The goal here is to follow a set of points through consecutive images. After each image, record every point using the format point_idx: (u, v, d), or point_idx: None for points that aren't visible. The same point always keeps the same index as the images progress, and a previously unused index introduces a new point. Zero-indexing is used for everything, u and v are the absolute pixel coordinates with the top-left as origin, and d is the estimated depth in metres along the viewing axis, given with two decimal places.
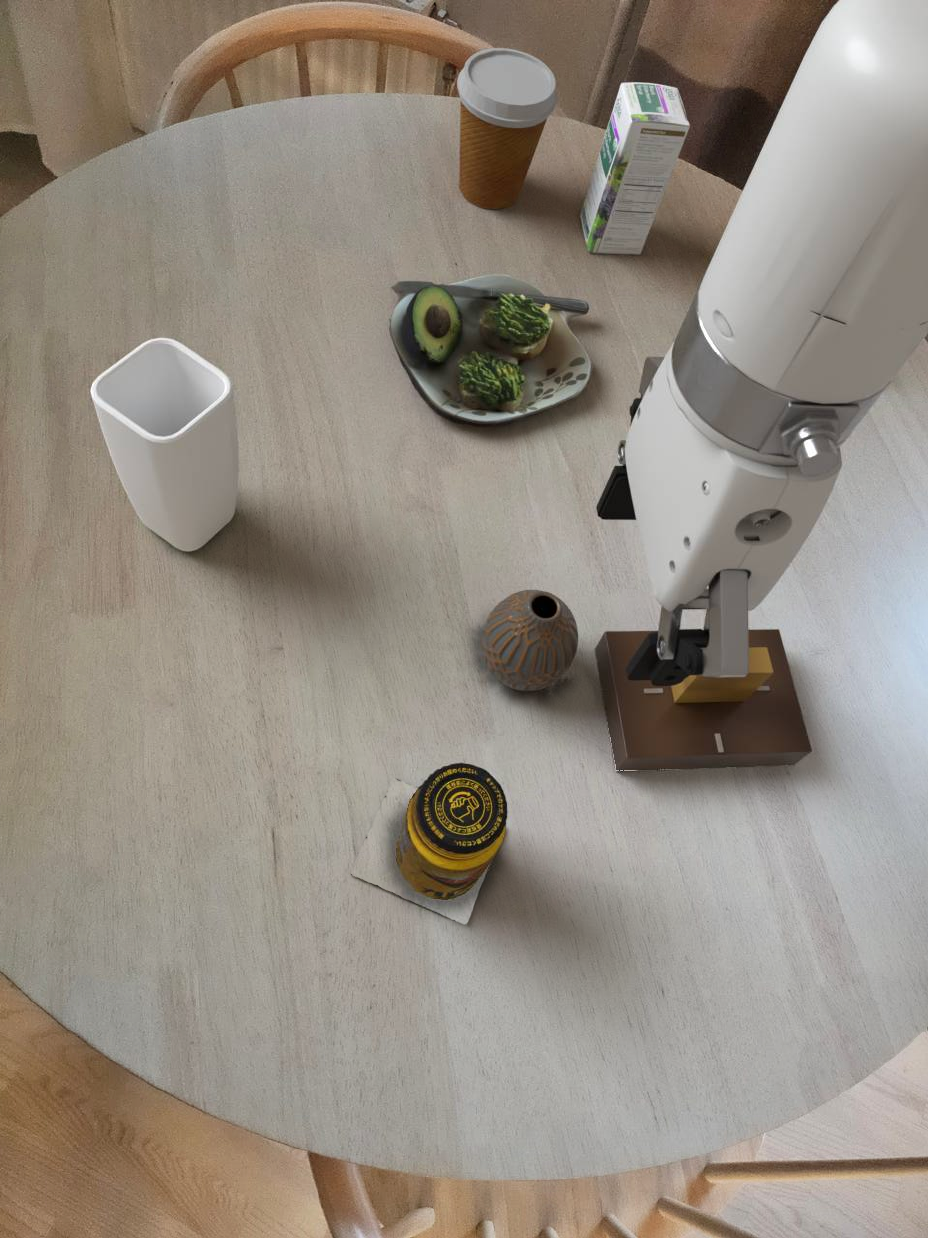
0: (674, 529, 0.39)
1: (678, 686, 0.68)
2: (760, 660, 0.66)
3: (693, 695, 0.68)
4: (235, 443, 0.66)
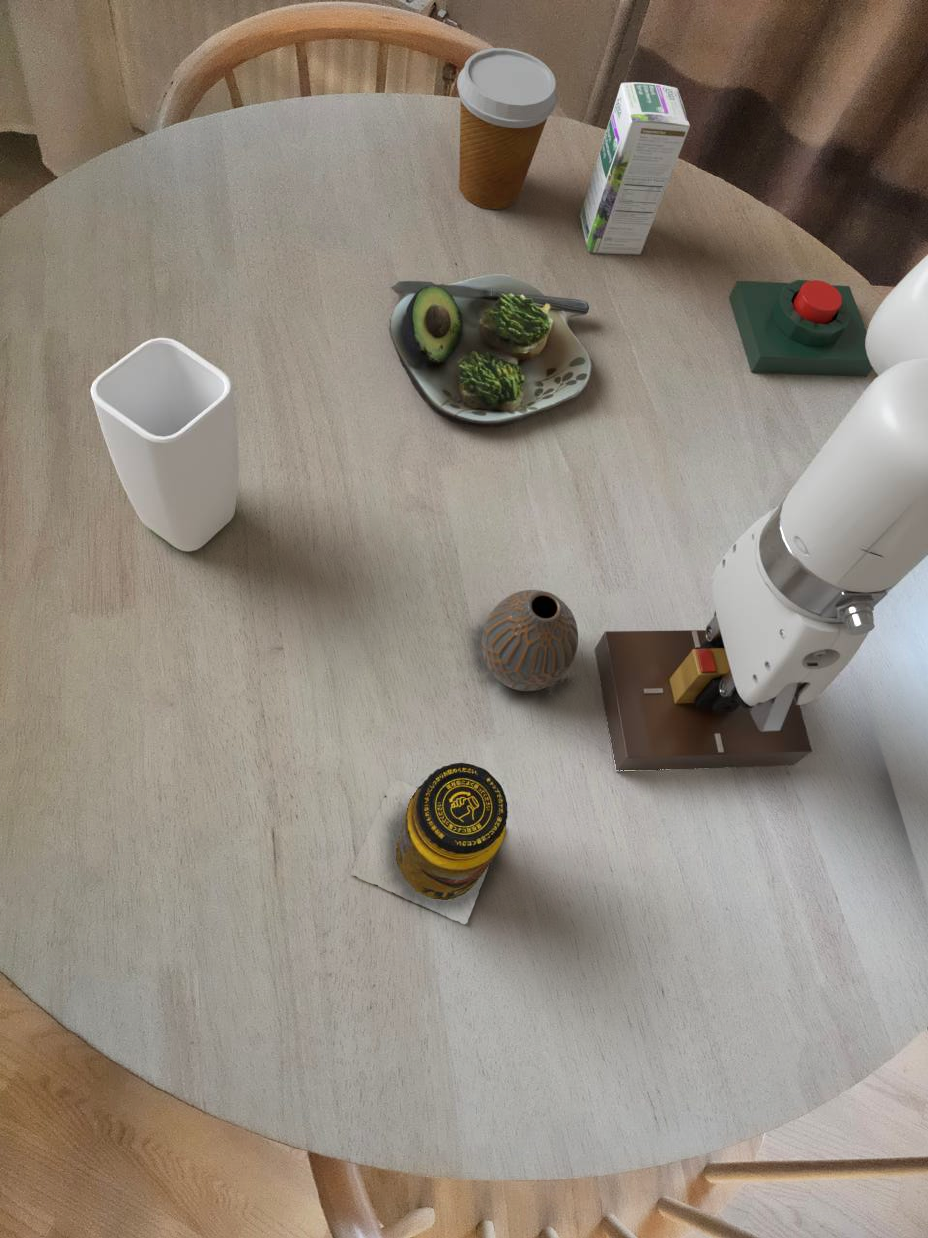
0: (757, 654, 0.57)
1: (678, 687, 0.68)
2: None
3: (693, 695, 0.68)
4: (235, 443, 0.66)
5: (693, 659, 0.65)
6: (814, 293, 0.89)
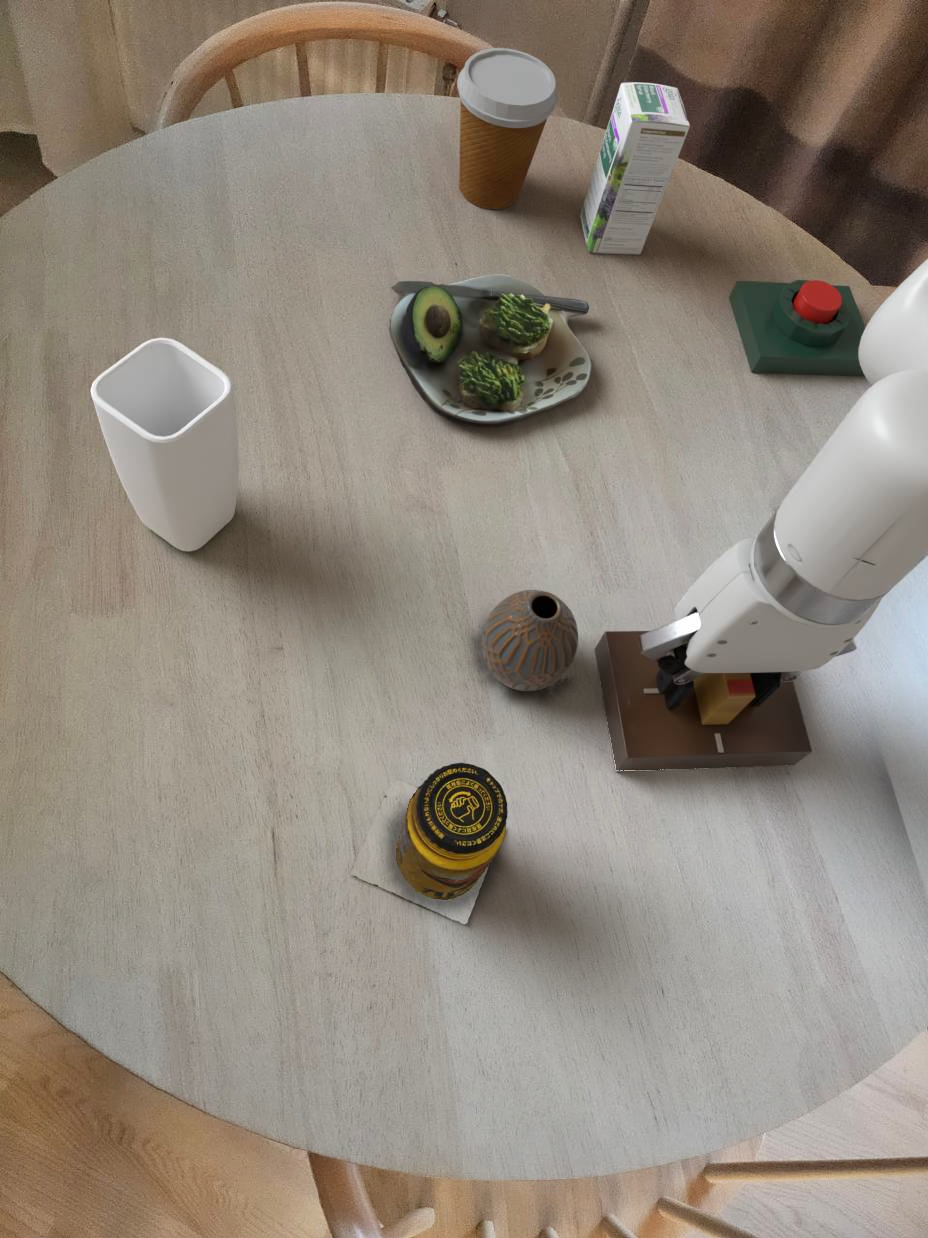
0: (829, 646, 0.59)
1: (725, 717, 0.67)
2: None
3: None
4: (235, 443, 0.66)
5: (736, 698, 0.64)
6: (814, 293, 0.89)
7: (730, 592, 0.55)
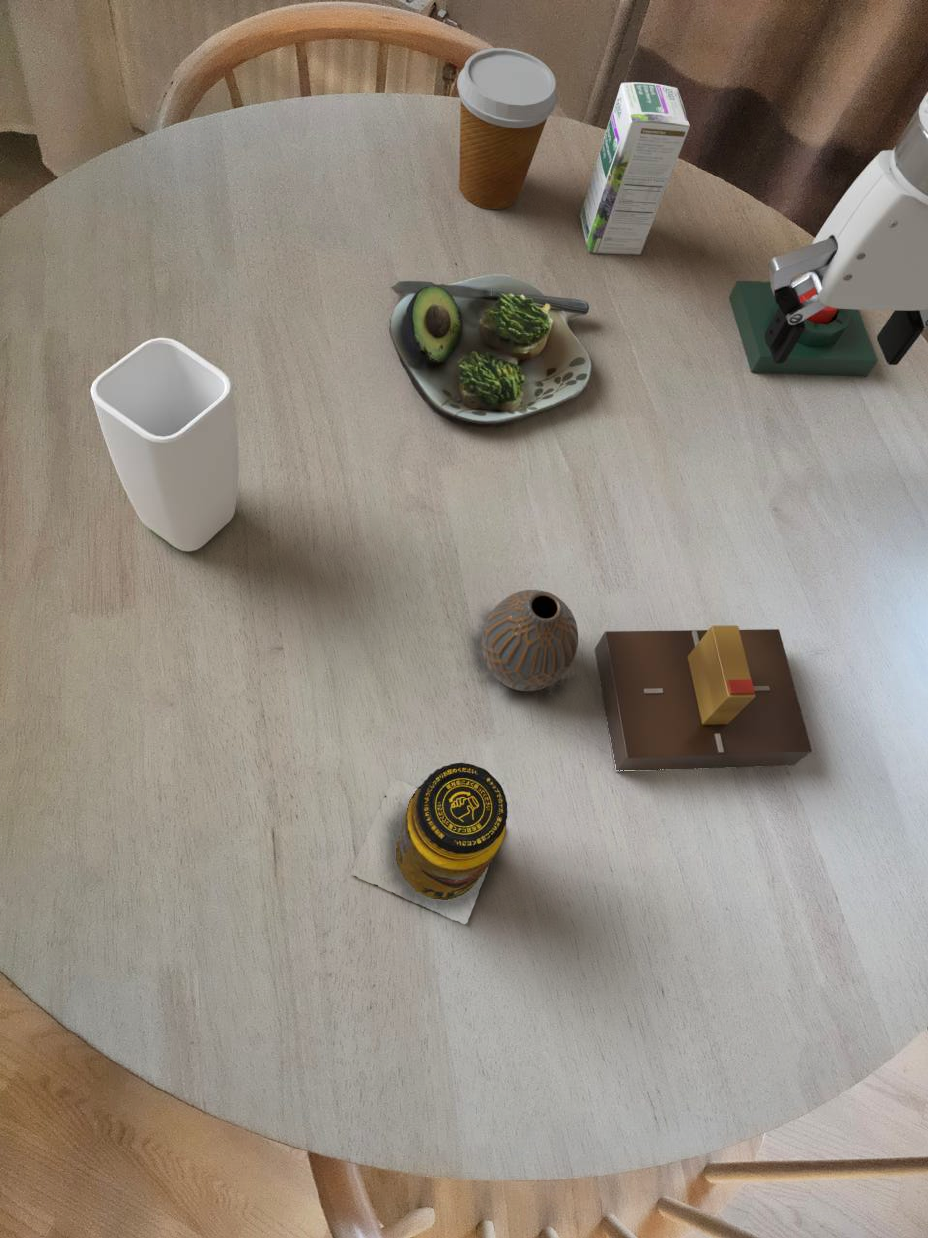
0: None
1: (725, 717, 0.67)
2: (727, 634, 0.66)
3: None
4: (235, 443, 0.66)
5: (736, 698, 0.64)
6: (814, 293, 0.89)
7: (873, 196, 0.61)
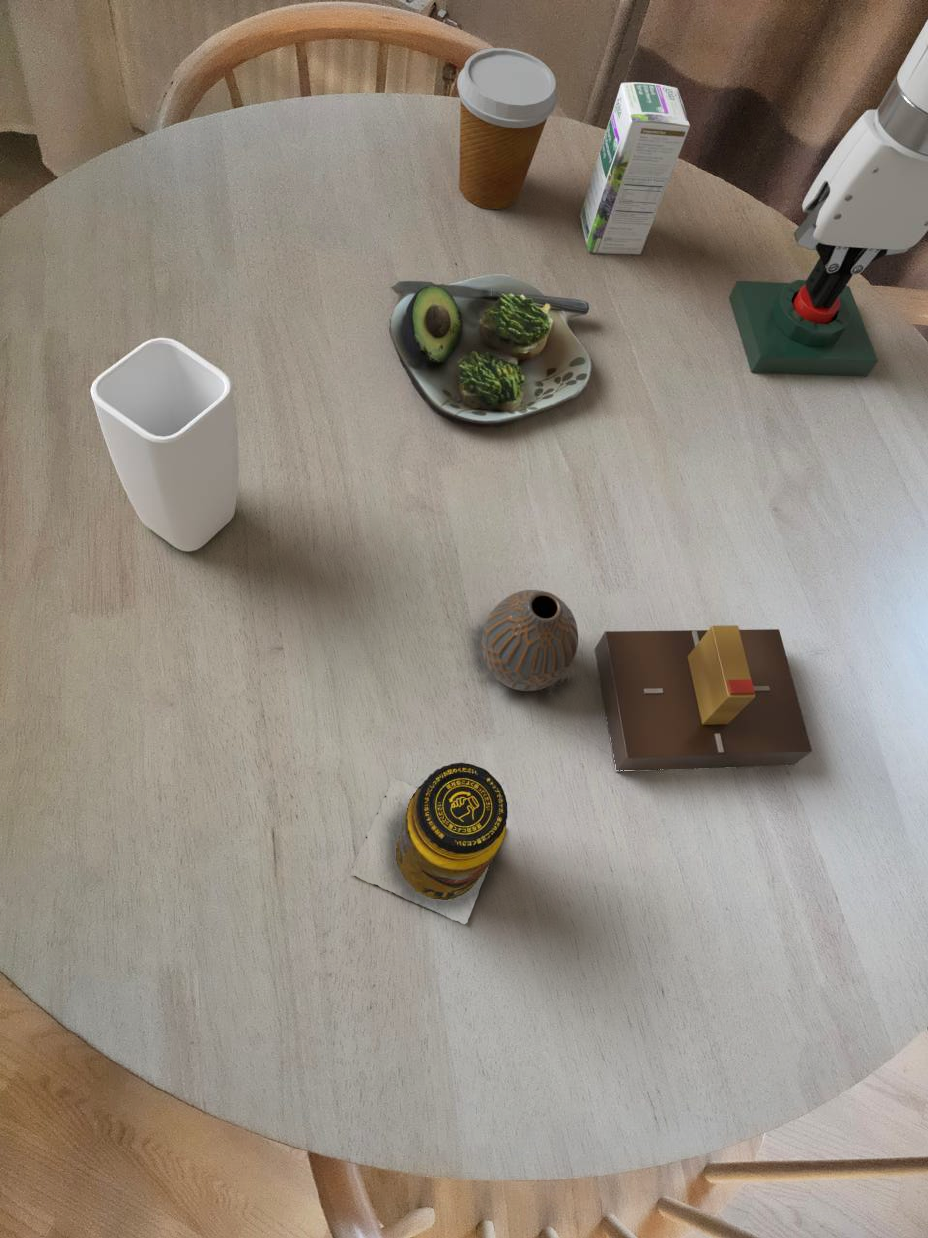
0: (925, 210, 0.78)
1: (725, 717, 0.67)
2: (727, 634, 0.66)
3: None
4: (235, 443, 0.66)
5: (736, 698, 0.64)
6: None
7: (859, 147, 0.75)
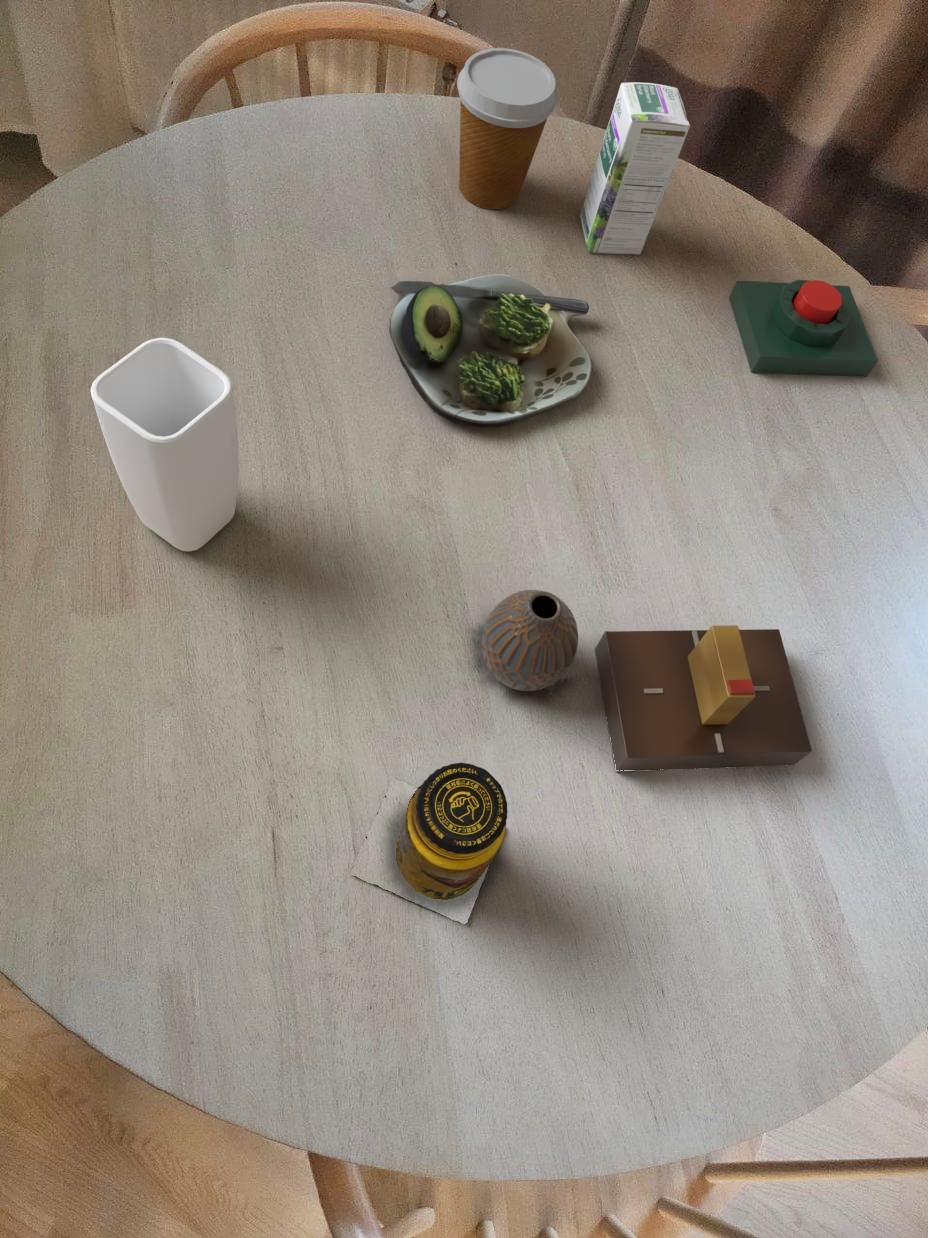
0: None
1: (725, 717, 0.67)
2: (727, 634, 0.66)
3: None
4: (235, 443, 0.66)
5: (736, 698, 0.64)
6: (814, 293, 0.89)
7: None
